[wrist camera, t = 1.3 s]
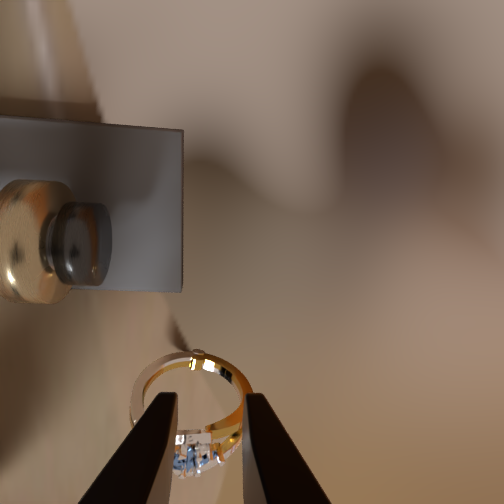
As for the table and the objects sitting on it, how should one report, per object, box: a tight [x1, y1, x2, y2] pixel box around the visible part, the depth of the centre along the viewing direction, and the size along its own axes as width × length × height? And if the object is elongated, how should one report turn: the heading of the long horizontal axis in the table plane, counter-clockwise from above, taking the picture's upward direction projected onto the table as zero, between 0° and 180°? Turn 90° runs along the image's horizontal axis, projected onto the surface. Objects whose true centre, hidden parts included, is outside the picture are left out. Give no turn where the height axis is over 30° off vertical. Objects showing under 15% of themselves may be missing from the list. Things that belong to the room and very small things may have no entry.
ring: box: [130, 349, 253, 479], centre depth 20 cm, size 7×3×8 cm, turn 76°
